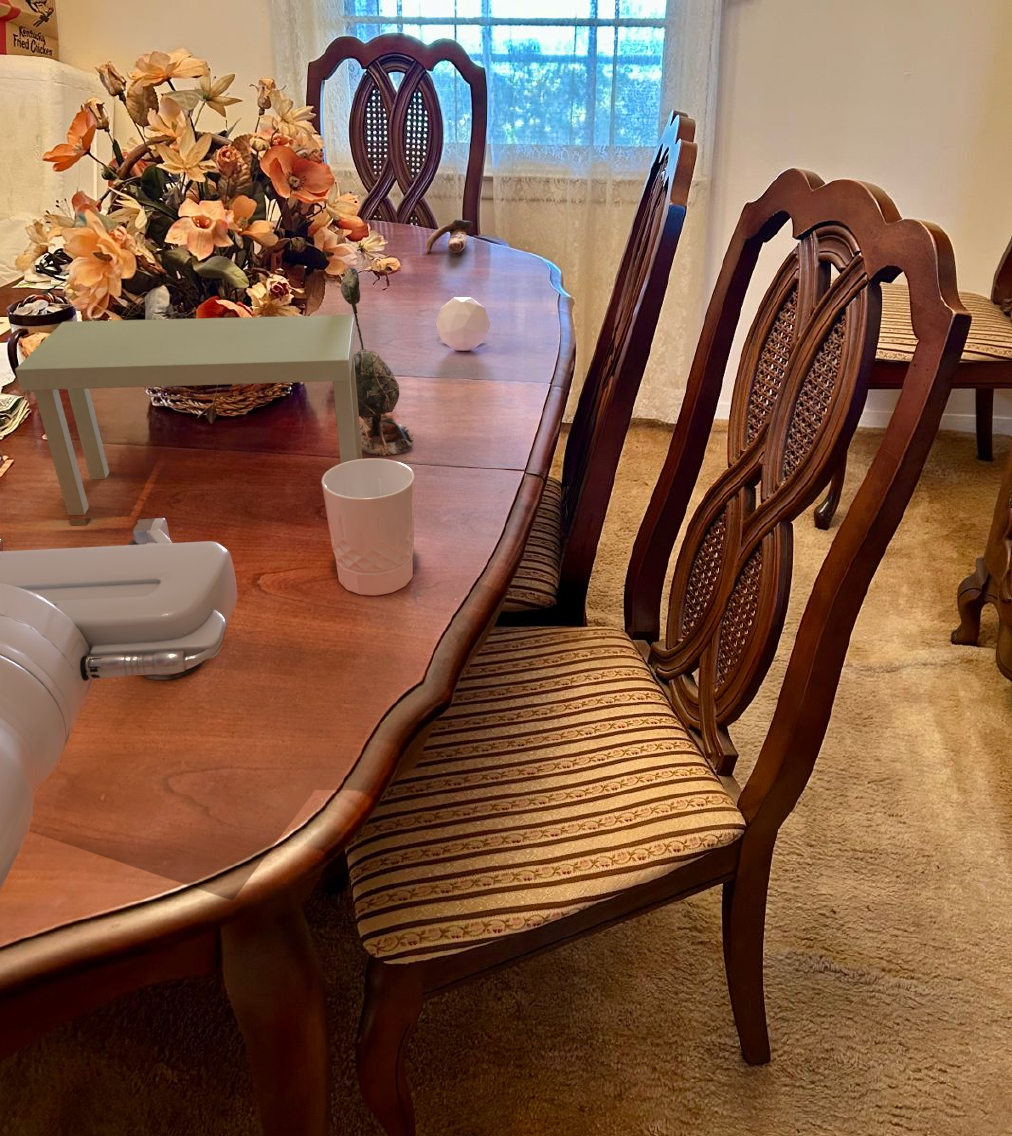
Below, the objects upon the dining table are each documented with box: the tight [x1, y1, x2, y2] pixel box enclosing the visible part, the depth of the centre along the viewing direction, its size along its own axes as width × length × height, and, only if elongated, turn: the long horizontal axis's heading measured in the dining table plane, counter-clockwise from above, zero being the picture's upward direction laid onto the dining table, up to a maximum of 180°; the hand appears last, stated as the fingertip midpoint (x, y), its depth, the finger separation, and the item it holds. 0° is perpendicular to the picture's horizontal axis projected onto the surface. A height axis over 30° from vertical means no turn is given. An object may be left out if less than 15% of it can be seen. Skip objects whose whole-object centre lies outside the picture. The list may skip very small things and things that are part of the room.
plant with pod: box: [340, 267, 414, 457], centre depth 104 cm, size 8×11×20 cm
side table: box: [14, 314, 363, 527], centre depth 93 cm, size 29×14×17 cm, turn 96°
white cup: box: [321, 457, 415, 596], centre depth 82 cm, size 8×8×10 cm
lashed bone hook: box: [426, 219, 474, 254], centre depth 193 cm, size 9×5×18 cm
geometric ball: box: [435, 296, 491, 351], centre depth 137 cm, size 8×8×8 cm
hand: (72, 532), depth 54 cm, fingers open, 8 cm apart
